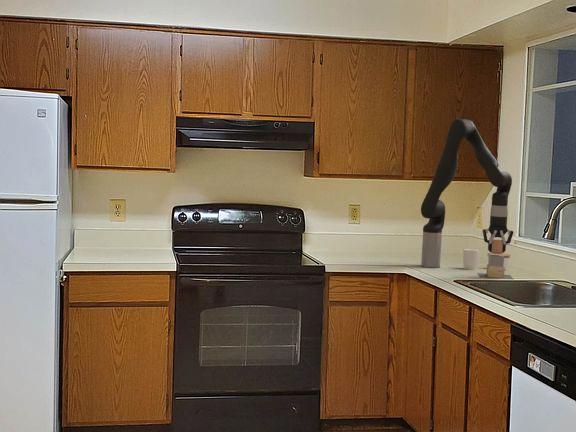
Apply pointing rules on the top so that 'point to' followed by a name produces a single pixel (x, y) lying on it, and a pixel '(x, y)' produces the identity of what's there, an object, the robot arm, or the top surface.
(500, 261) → the grey block
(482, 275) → the charcoal mat
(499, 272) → the maple block
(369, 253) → the top surface
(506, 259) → the lidded jar
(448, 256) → the top surface
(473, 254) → the white cup
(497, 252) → the terracotta cylinder
